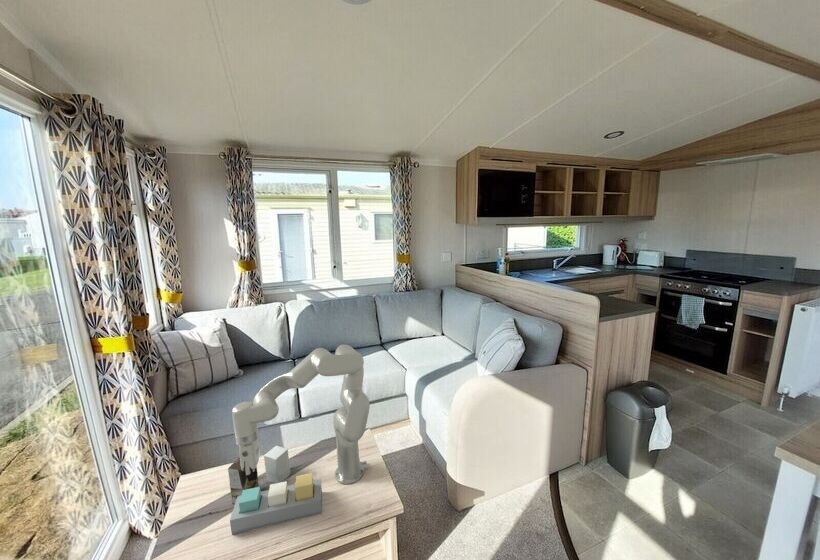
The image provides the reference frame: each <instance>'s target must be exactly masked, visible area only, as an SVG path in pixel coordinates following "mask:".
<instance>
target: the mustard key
mask: <svg viewBox="0 0 820 560" xmlns="http://www.w3.org/2000/svg"><path fill="white" fill-rule="evenodd" d="M295 477H296V478H295V492H296V501H300V500H304V499H309V498H313V494H314V485H313V480H314V475H313V472H311V473H305V474H299V475H296V476H295Z"/></svg>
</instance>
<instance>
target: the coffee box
mask: <svg viewBox="0 0 820 560" xmlns="http://www.w3.org/2000/svg"><path fill="white" fill-rule="evenodd" d="M227 472H228V479H229V480H228V481H229V489H230V497H231V503H232V504H235V503H236V500H237V497H238V496H241V495H242V491H243V490H246V489H251V488H256V487H260V484H259V477H257V480H253V481H248V478H247V475H246V469H244V471H242V469H241V464H240V456H239V457H238V458H237V459H236V460H235V461H234V462H233V463H232V464H231V465H230V466H229V467H228V469H227Z"/></svg>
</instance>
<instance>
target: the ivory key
mask: <svg viewBox="0 0 820 560" xmlns="http://www.w3.org/2000/svg"><path fill="white" fill-rule="evenodd" d="M287 486H288V481H282V482H280V483H276V484H275V483H272V484H270V485H269V489H268V490H269V493H268V504H269V507H273V506H277V505H282V504H286V503H287V500H288V487H287Z"/></svg>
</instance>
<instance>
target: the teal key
mask: <svg viewBox="0 0 820 560" xmlns="http://www.w3.org/2000/svg"><path fill="white" fill-rule="evenodd" d="M260 503H261V486H259V487H256V488H251V489H246V490H243V491H242V495H241V498H240V501H239V508H240V514H241V513H246V512H250V511H255V510H259V507H260Z"/></svg>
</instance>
